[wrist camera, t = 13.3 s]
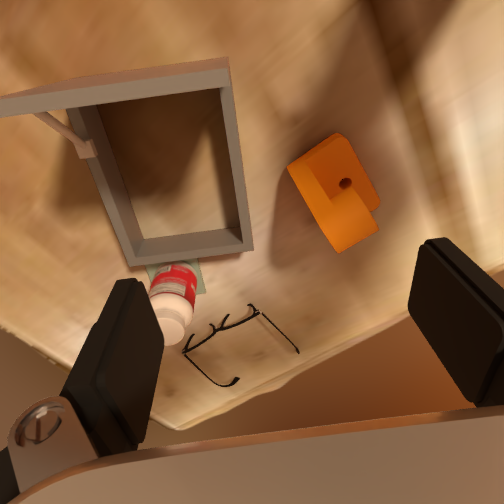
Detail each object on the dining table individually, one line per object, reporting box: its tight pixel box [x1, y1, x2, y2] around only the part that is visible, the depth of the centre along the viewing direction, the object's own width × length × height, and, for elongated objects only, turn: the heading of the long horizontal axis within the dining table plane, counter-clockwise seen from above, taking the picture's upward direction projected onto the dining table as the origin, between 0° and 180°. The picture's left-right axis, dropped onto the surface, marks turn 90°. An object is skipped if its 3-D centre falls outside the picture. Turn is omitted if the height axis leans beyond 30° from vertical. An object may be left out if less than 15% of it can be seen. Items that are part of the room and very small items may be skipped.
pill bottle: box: [148, 261, 197, 346], centre depth 43 cm, size 6×6×11 cm
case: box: [0, 57, 254, 267], centre depth 32 cm, size 21×16×16 cm
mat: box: [145, 258, 206, 294], centre depth 48 cm, size 8×8×1 cm
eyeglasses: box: [181, 304, 300, 387], centre depth 56 cm, size 16×16×4 cm
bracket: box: [287, 133, 380, 254], centre depth 36 cm, size 11×7×12 cm, turn 36°
